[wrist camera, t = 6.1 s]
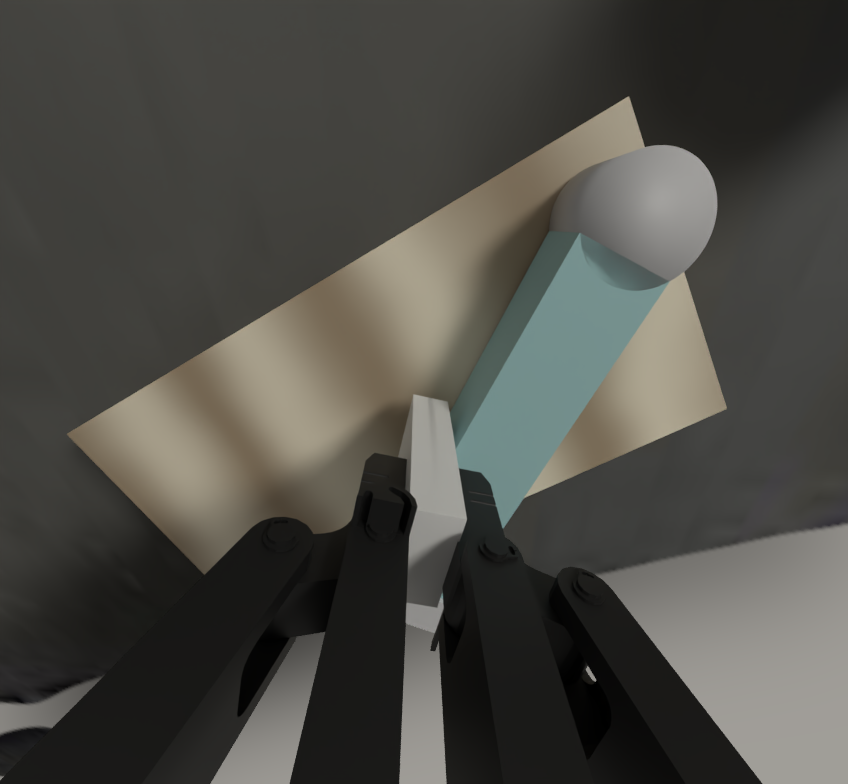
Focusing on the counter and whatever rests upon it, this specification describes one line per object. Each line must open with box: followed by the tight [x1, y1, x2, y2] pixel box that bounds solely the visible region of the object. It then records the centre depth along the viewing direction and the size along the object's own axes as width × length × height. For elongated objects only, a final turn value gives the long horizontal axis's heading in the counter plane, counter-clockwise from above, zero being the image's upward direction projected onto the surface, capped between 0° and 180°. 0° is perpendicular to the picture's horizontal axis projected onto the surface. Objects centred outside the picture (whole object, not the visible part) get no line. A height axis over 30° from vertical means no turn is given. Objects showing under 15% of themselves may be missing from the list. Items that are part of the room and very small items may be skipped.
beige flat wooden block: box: [67, 97, 727, 575], centre depth 18 cm, size 24×12×3 cm, turn 119°
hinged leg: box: [406, 145, 717, 633], centre depth 15 cm, size 18×4×3 cm, turn 155°
